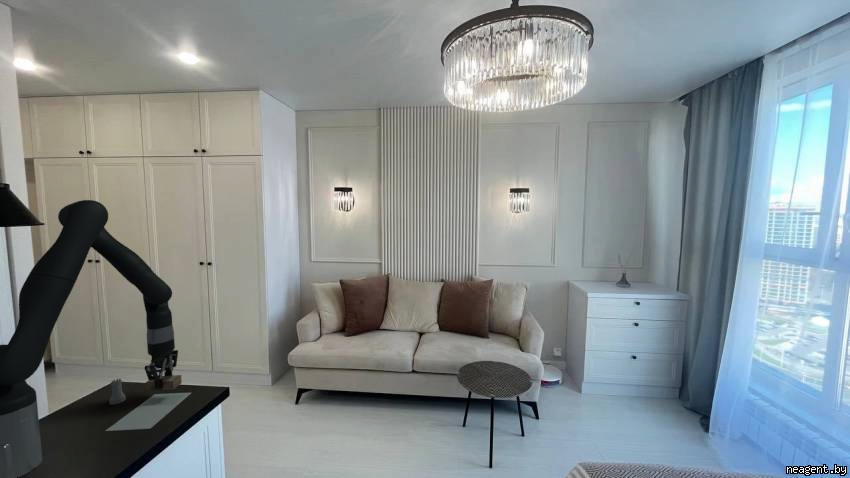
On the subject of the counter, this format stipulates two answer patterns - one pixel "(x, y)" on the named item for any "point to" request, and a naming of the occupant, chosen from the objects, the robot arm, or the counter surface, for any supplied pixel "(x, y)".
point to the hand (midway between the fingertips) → (164, 384)
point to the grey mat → (149, 412)
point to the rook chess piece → (117, 392)
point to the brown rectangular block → (165, 383)
